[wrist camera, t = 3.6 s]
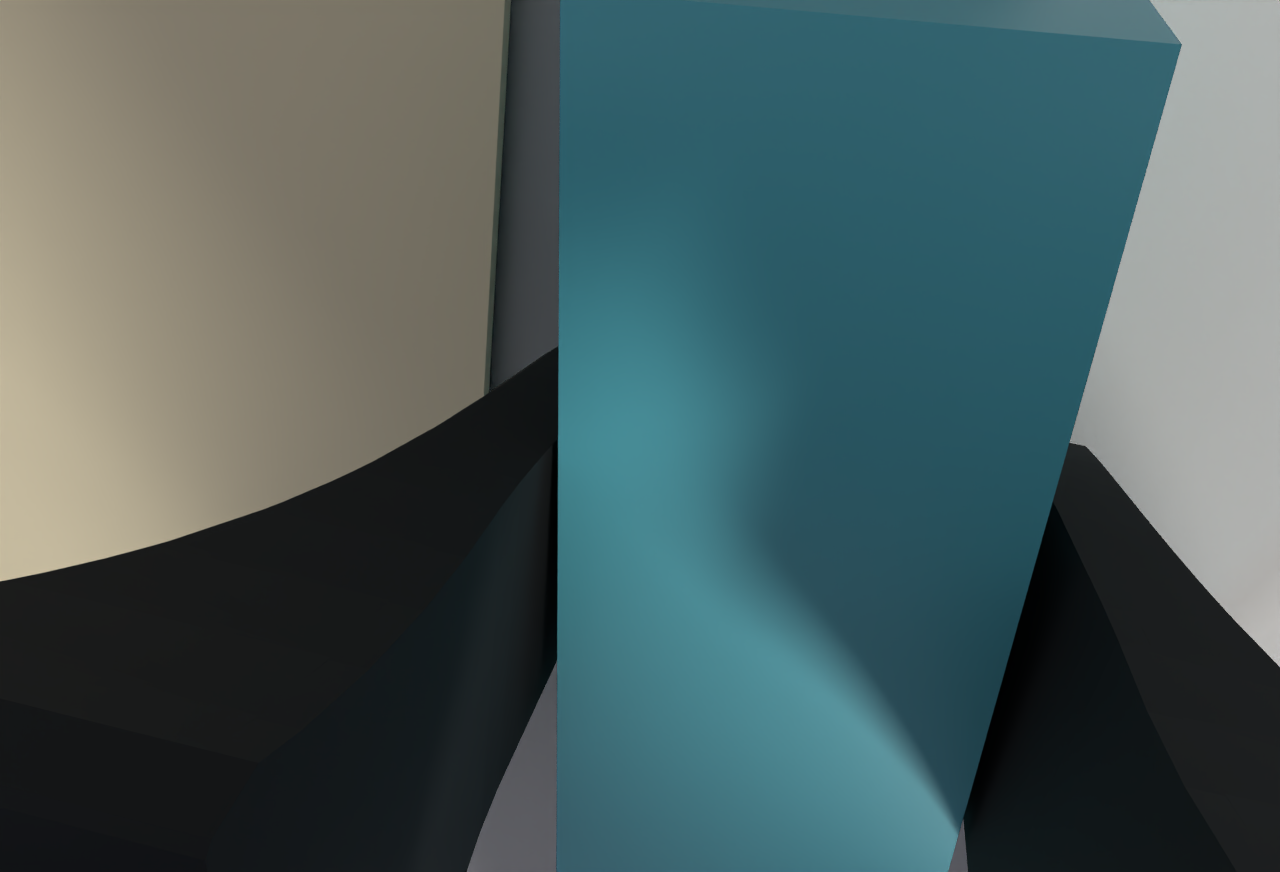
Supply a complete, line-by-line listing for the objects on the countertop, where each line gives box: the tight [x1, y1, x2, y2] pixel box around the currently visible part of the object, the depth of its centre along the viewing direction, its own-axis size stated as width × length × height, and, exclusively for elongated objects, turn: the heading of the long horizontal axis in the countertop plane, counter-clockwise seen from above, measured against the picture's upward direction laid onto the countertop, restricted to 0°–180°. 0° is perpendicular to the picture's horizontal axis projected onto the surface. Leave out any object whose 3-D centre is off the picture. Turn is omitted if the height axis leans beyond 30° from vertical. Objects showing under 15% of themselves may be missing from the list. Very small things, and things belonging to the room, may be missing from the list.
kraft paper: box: [0, 0, 511, 581], centre depth 14 cm, size 9×12×1 cm
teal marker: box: [556, 0, 1182, 872], centre depth 11 cm, size 3×11×4 cm, turn 178°
